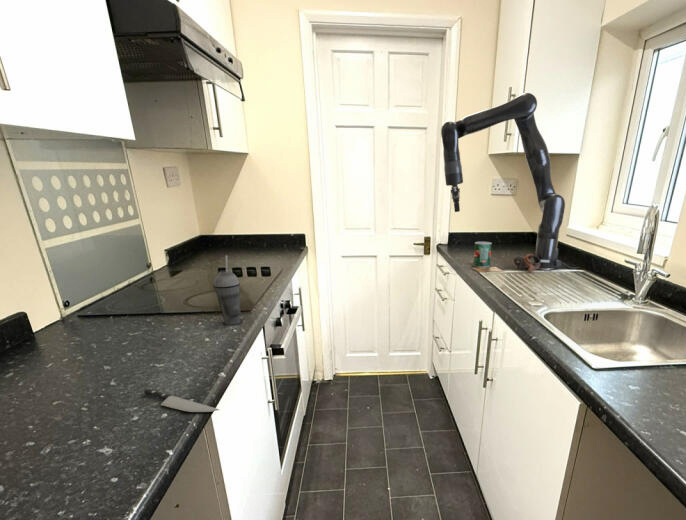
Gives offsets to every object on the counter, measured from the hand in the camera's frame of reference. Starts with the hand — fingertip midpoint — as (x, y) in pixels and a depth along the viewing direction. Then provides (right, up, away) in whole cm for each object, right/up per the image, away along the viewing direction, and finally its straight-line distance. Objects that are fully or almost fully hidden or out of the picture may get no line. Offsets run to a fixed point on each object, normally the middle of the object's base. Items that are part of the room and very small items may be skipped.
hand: (457, 211), depth 183 cm
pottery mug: (+33, -25, +7) cm, 42 cm away
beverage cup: (-76, -52, -59) cm, 110 cm away
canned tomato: (+14, -22, +16) cm, 30 cm away
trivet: (+15, -24, +8) cm, 30 cm away
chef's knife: (-69, -71, -104) cm, 143 cm away
